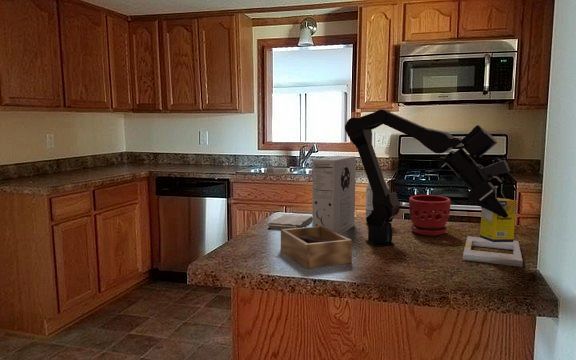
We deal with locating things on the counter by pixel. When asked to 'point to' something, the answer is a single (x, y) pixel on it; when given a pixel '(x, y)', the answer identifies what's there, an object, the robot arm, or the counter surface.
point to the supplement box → (499, 223)
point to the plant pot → (429, 214)
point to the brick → (312, 239)
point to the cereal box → (334, 193)
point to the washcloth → (289, 222)
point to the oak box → (316, 247)
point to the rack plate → (491, 256)
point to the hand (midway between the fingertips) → (508, 214)
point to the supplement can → (369, 199)
